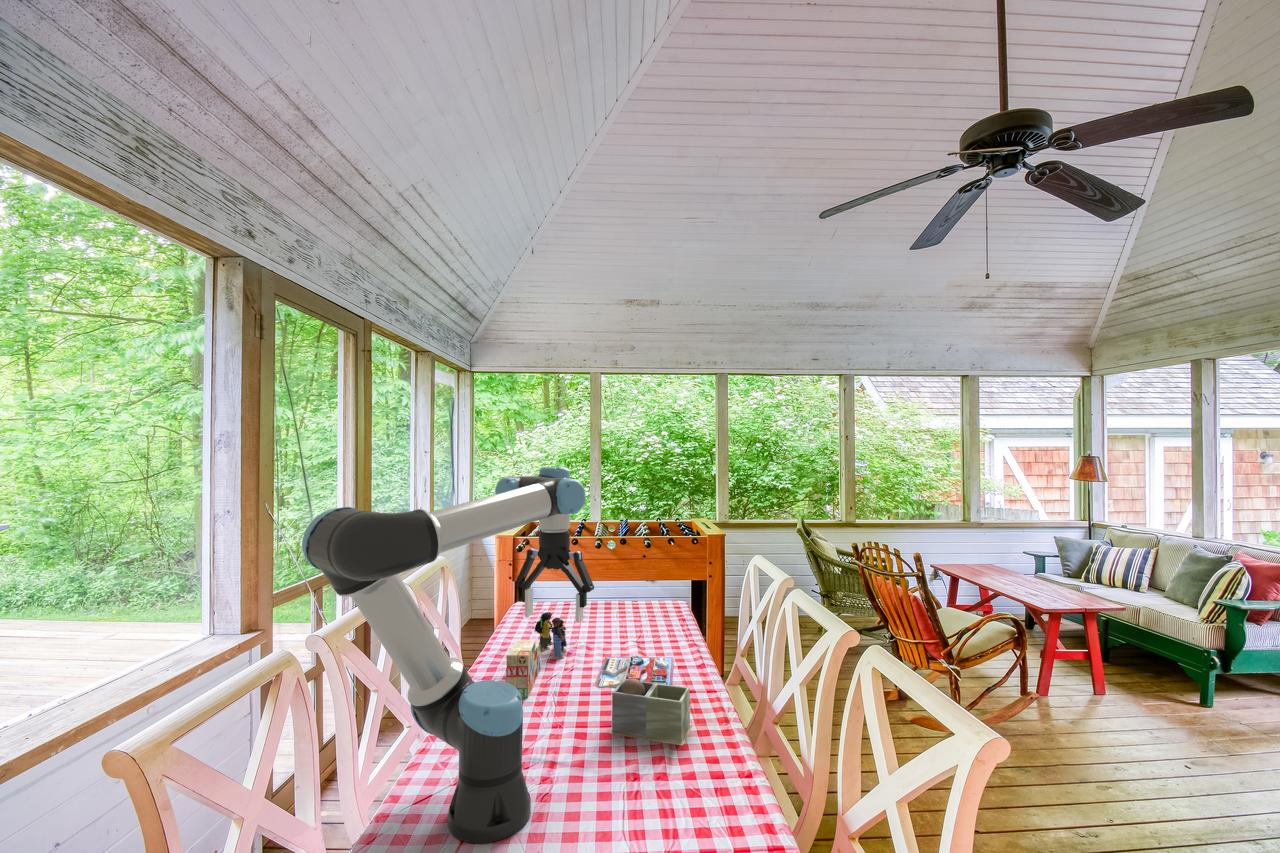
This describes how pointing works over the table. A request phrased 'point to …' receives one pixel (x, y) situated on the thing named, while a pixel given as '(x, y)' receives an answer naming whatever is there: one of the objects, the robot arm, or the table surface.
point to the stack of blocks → (523, 665)
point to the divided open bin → (652, 713)
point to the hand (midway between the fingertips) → (553, 618)
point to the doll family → (558, 634)
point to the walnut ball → (633, 687)
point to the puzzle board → (635, 670)
